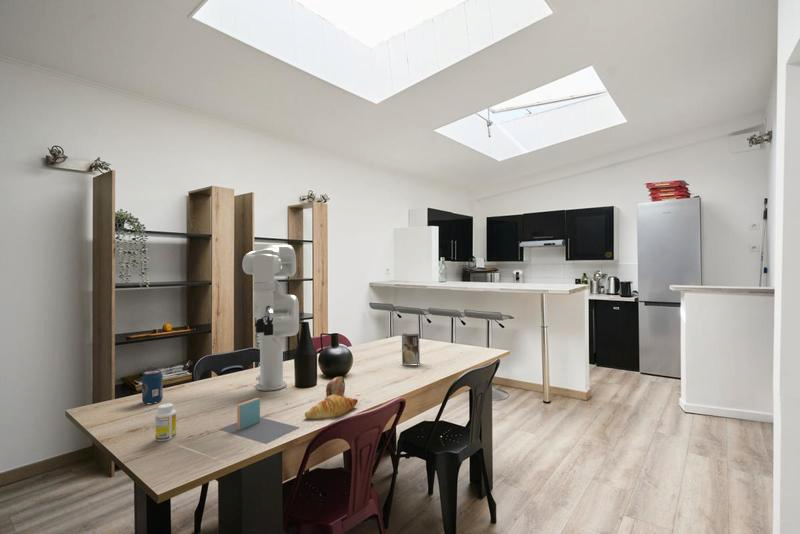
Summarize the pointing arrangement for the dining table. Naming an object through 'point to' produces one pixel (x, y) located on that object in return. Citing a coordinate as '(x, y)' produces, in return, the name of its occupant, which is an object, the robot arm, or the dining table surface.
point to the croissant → (331, 407)
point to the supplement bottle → (165, 422)
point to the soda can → (152, 386)
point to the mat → (262, 430)
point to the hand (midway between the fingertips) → (264, 333)
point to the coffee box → (410, 349)
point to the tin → (336, 387)
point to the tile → (248, 413)
